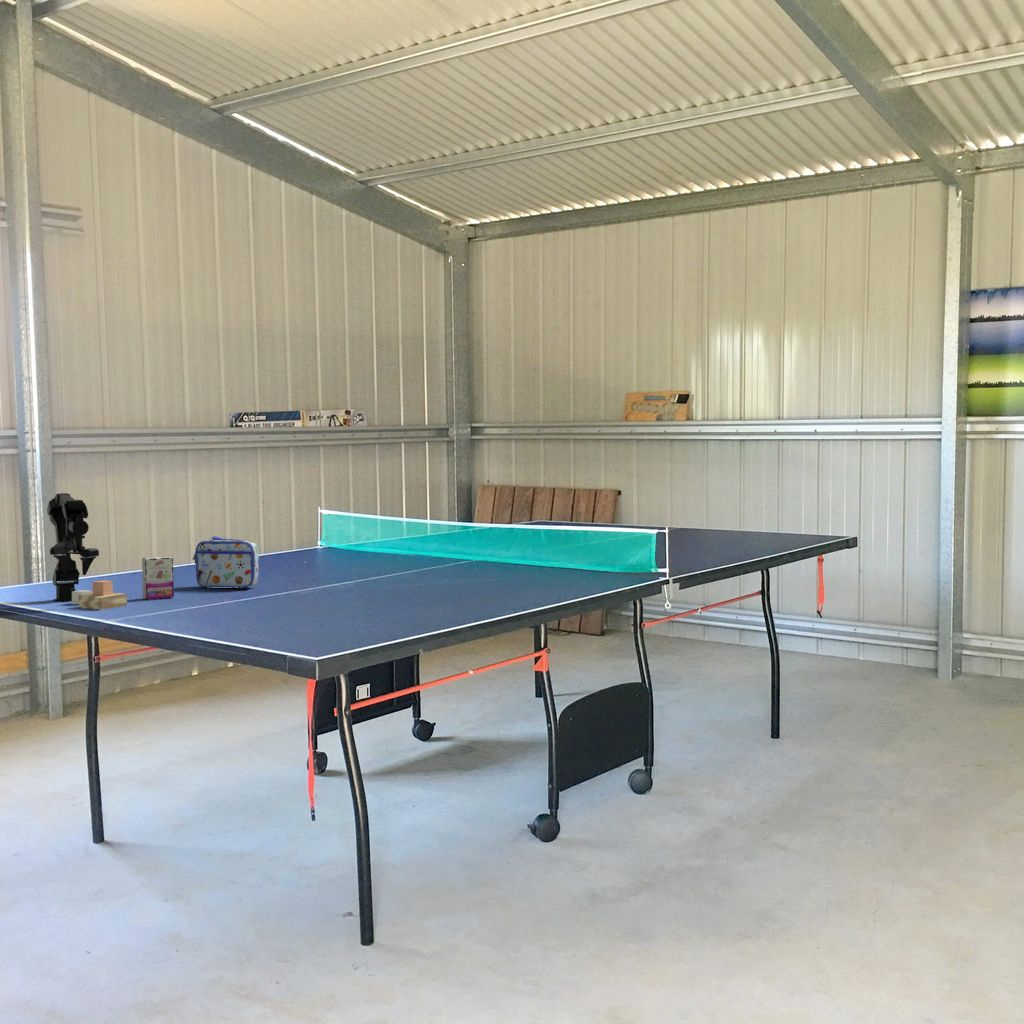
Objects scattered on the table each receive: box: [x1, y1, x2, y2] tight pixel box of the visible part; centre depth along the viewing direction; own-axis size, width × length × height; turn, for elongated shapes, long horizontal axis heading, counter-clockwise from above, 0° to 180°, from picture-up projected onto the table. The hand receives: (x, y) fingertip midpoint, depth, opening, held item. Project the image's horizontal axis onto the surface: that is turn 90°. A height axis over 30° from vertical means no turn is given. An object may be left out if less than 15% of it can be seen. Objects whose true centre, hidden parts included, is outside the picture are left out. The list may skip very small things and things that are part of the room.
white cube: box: [71, 589, 93, 605], centre depth 410 cm, size 5×5×5 cm
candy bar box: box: [141, 556, 175, 600], centre depth 426 cm, size 11×5×16 cm, turn 126°
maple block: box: [78, 591, 128, 611], centre depth 404 cm, size 12×12×5 cm
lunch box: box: [192, 535, 260, 589], centre depth 459 cm, size 28×10×22 cm, turn 84°
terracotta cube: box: [92, 579, 114, 596], centre depth 404 cm, size 5×5×5 cm
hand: (74, 574), depth 405 cm, fingers open, 9 cm apart
